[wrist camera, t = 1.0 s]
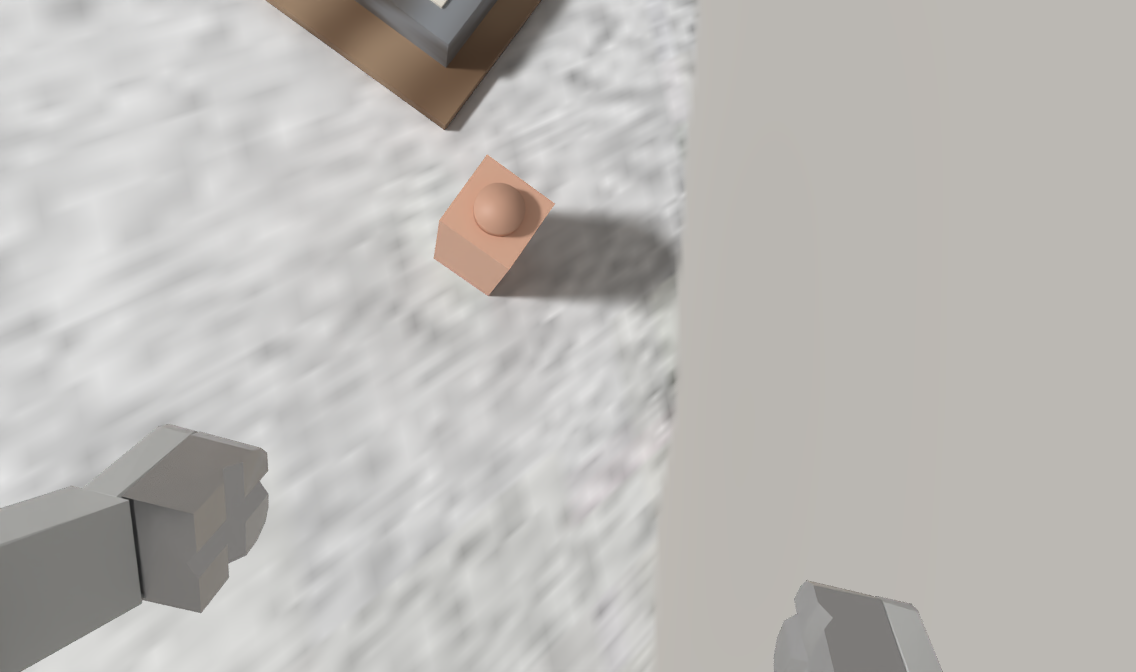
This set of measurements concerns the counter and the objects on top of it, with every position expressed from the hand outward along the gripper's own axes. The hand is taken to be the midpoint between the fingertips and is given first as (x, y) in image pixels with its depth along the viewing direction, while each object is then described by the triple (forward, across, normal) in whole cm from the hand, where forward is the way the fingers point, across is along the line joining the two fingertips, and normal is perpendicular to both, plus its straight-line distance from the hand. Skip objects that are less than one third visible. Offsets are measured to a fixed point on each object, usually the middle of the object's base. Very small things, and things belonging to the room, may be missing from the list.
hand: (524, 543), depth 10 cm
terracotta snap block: (+32, +8, +8) cm, 34 cm away
